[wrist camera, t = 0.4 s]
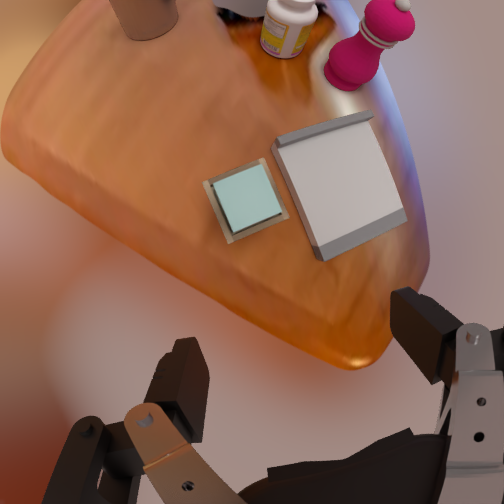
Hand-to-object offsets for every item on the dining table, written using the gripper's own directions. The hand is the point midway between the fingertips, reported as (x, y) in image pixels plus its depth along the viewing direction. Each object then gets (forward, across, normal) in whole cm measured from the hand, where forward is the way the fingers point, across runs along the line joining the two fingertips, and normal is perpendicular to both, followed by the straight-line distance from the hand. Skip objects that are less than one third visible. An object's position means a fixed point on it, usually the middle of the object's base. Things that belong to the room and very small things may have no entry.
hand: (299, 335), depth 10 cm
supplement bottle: (+32, -9, -26) cm, 42 cm away
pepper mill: (+32, -18, -19) cm, 41 cm away
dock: (+28, -12, -2) cm, 31 cm away
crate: (+27, +2, -2) cm, 27 cm away
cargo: (+15, +1, -4) cm, 16 cm away
